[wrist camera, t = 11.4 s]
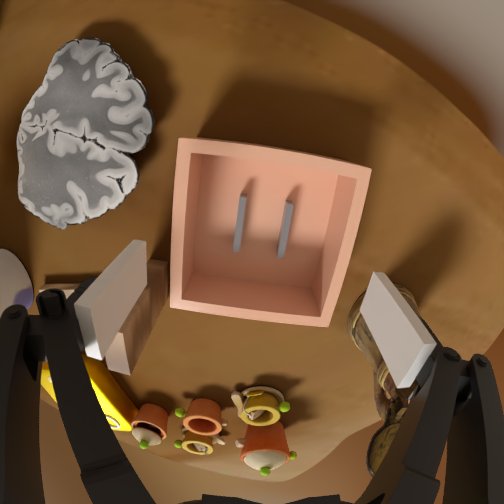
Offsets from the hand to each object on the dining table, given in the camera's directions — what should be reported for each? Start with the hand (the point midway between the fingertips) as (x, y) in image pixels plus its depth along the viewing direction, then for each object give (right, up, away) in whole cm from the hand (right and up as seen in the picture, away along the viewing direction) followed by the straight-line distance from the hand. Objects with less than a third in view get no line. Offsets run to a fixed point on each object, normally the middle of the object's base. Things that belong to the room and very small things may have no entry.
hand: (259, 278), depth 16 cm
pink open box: (+1, +4, +11) cm, 12 cm away
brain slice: (-17, +14, +8) cm, 24 cm away
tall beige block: (-10, -1, +14) cm, 18 cm away
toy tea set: (-6, -25, +24) cm, 36 cm away
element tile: (-28, -21, +23) cm, 42 cm away
